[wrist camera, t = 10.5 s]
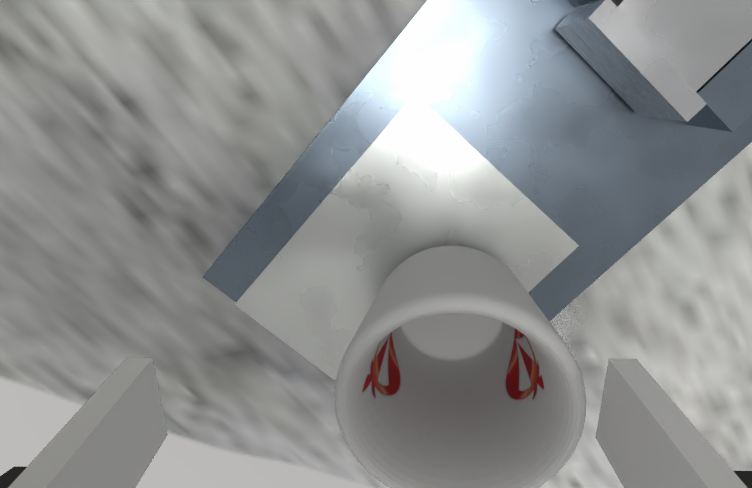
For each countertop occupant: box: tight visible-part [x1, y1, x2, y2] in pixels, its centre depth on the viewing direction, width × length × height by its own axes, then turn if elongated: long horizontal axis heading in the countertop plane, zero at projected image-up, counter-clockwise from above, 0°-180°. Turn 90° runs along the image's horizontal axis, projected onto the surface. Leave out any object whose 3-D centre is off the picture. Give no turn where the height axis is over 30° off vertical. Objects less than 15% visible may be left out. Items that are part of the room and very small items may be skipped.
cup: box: [335, 246, 586, 488], centre depth 20 cm, size 11×8×8 cm
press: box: [203, 0, 752, 381], centre depth 21 cm, size 14×26×6 cm, turn 139°
